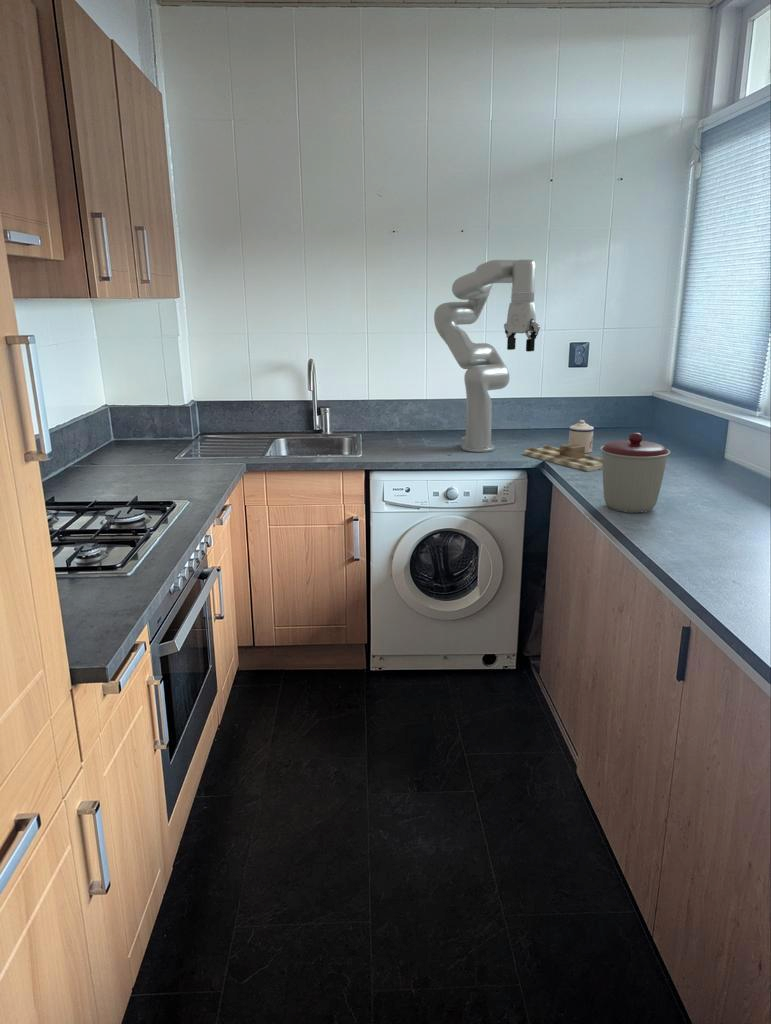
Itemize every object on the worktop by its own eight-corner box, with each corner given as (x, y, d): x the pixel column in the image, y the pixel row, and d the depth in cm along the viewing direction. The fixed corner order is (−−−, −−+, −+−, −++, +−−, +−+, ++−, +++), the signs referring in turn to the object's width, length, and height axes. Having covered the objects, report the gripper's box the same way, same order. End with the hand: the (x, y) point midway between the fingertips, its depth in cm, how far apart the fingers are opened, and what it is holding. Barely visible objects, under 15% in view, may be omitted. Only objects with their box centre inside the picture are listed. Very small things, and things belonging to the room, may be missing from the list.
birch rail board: (523, 454, 269) (524, 447, 268) (548, 450, 274) (548, 444, 274) (587, 471, 242) (588, 464, 241) (613, 467, 248) (613, 459, 247)
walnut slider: (559, 456, 257) (560, 445, 256) (571, 454, 260) (572, 443, 259) (571, 459, 252) (572, 448, 251) (584, 457, 255) (584, 446, 254)
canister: (679, 513, 196) (687, 436, 190) (623, 520, 190) (630, 441, 184) (634, 496, 212) (641, 424, 206) (582, 503, 206) (587, 429, 200)
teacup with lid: (595, 453, 268) (597, 422, 265) (570, 454, 269) (572, 422, 265) (587, 447, 280) (589, 417, 277) (563, 447, 280) (565, 417, 277)
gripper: (497, 298, 250) (495, 349, 255) (531, 298, 236) (529, 352, 241) (514, 298, 254) (512, 348, 258) (548, 298, 239) (546, 351, 244)
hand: (520, 350), depth 250 cm, fingers open, 9 cm apart
